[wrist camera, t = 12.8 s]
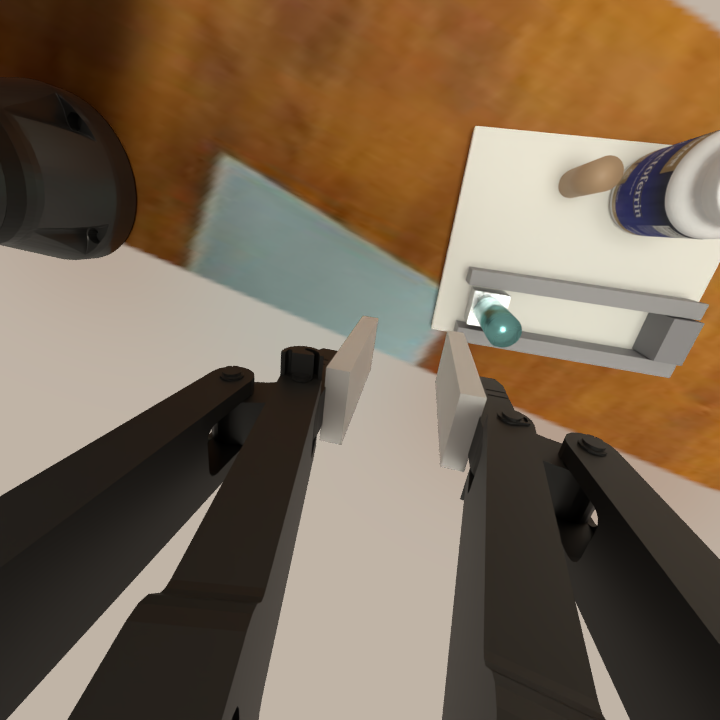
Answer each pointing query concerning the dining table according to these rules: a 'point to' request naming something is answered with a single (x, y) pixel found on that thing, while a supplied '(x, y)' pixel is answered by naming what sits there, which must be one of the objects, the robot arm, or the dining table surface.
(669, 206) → the pill bottle
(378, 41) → the dining table surface
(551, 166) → the board
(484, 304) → the pin
